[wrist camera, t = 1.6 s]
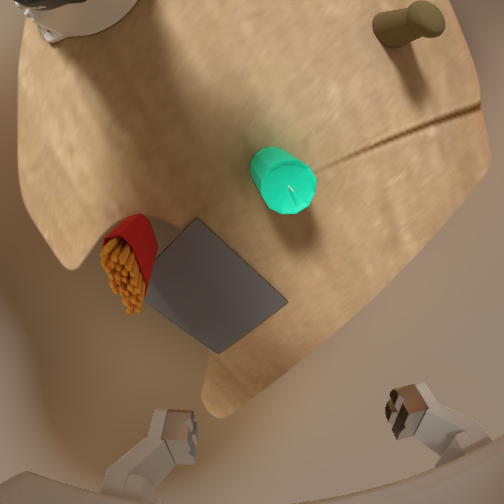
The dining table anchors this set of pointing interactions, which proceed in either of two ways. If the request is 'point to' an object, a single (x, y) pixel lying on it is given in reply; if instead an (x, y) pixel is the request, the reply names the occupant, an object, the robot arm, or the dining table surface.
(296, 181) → the candle
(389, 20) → the cork
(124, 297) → the french fries
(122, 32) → the dining table surface
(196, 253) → the mat
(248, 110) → the dining table surface
